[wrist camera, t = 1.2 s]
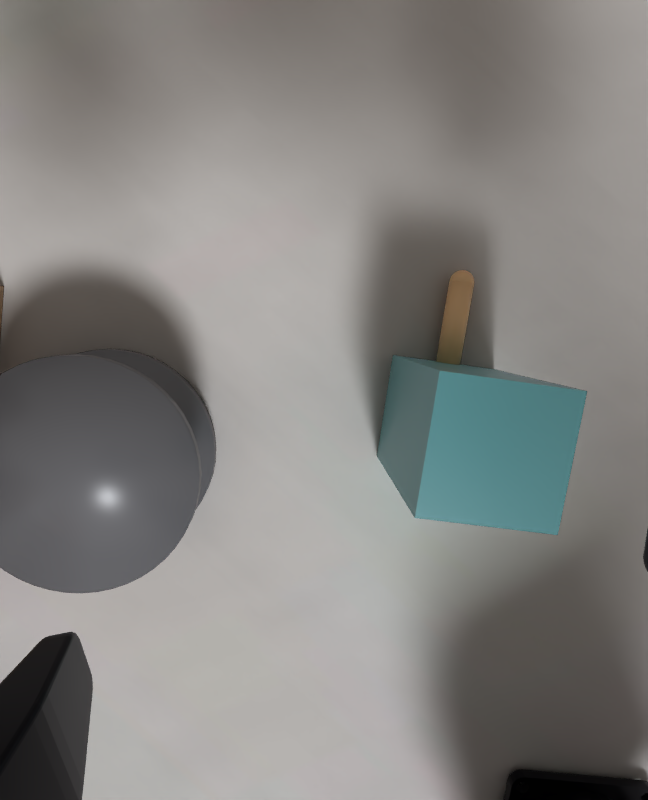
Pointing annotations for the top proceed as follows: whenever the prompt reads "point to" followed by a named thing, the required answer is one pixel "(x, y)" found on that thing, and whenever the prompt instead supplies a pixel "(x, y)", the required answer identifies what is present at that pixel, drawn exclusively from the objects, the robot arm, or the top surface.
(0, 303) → the notch board
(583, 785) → the robot arm
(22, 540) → the spool
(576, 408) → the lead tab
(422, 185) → the top surface
